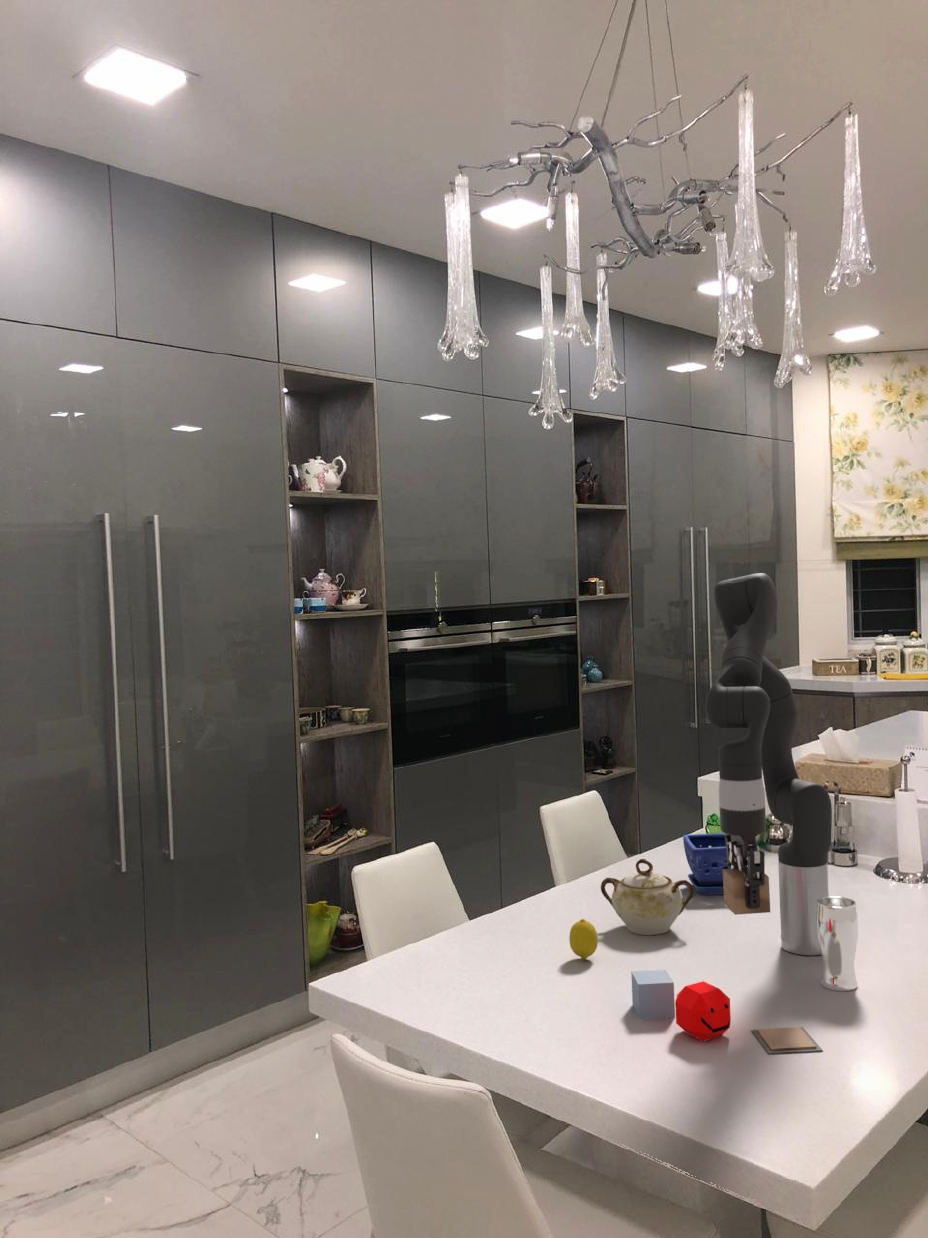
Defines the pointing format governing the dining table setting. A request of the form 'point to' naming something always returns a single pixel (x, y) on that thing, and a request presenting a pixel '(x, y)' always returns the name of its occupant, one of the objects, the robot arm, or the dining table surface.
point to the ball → (703, 1011)
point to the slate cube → (653, 994)
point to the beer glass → (837, 941)
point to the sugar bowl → (647, 900)
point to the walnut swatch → (786, 1040)
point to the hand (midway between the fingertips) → (746, 902)
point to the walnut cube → (743, 893)
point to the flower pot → (706, 861)
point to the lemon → (583, 939)
